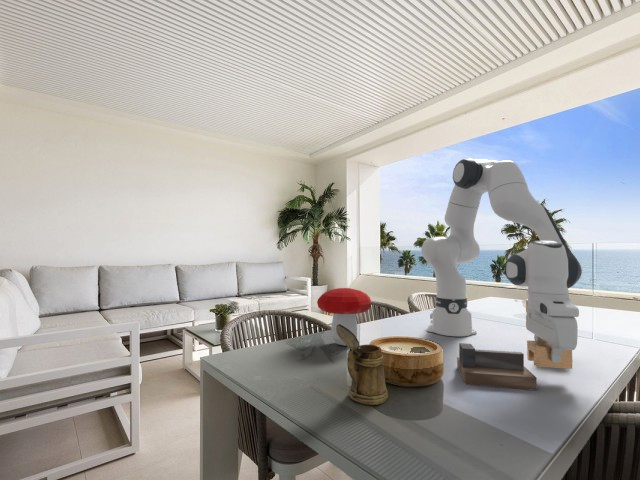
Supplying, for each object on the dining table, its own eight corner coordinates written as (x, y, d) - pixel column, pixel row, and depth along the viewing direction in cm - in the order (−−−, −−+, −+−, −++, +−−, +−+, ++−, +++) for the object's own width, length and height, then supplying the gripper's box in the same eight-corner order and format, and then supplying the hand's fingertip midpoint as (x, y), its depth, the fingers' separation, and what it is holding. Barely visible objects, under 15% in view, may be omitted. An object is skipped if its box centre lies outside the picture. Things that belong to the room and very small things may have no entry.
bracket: (457, 367, 96) (456, 339, 96) (518, 372, 93) (518, 343, 93) (465, 384, 85) (465, 352, 85) (536, 390, 81) (536, 356, 81)
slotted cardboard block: (527, 359, 90) (527, 340, 90) (562, 361, 88) (562, 342, 88) (536, 366, 84) (535, 346, 84) (573, 368, 82) (573, 348, 82)
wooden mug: (325, 400, 76) (325, 320, 76) (368, 385, 84) (368, 313, 84) (352, 416, 69) (352, 327, 69) (396, 398, 77) (395, 319, 77)
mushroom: (379, 341, 123) (379, 287, 124) (361, 356, 107) (361, 293, 107) (330, 335, 132) (330, 284, 133) (307, 347, 116) (307, 289, 116)
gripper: (519, 297, 97) (520, 345, 97) (551, 310, 77) (553, 370, 77) (543, 297, 96) (544, 346, 95) (583, 311, 76) (584, 372, 75)
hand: (548, 357), depth 86 cm, fingers closed on slotted cardboard block, 6 cm apart
